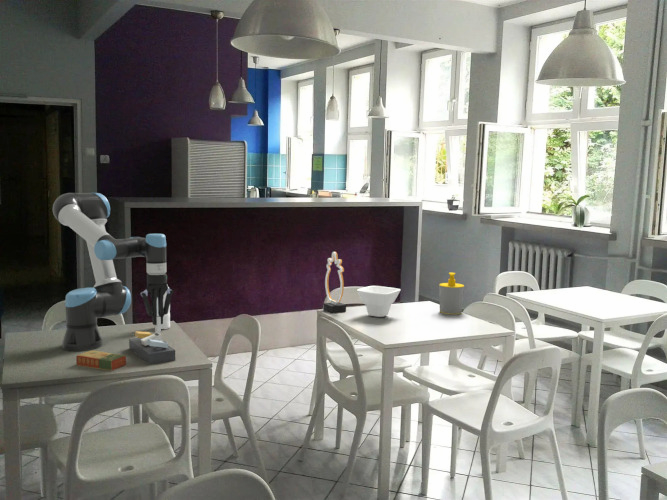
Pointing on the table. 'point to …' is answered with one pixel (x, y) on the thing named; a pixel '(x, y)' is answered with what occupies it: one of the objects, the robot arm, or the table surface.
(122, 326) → the table surface
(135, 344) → the power strip
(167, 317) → the water bottle
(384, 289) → the bowl
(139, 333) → the rocker amber
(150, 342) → the rocker blue
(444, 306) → the soap bottle
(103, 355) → the carton
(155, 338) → the rocker white
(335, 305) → the lamp
